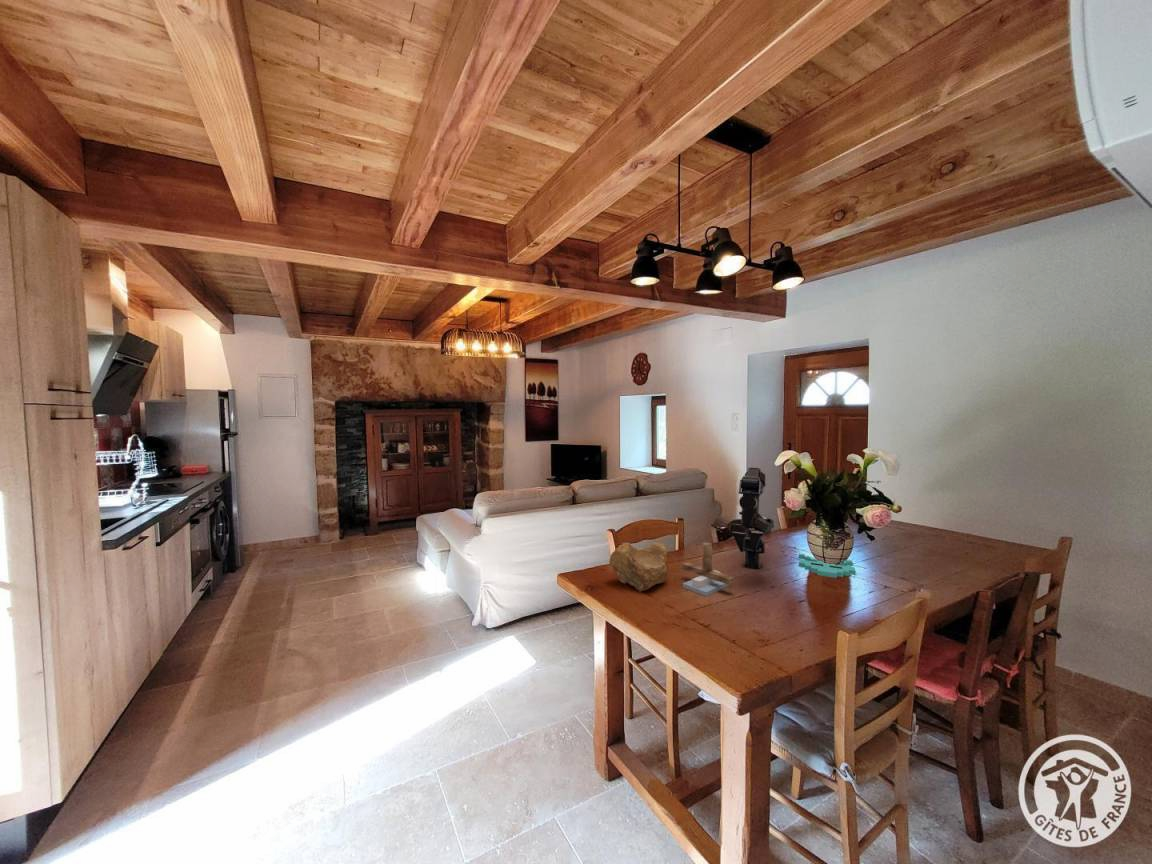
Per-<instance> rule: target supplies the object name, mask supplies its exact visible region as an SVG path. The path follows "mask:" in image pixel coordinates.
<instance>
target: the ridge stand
mask: <svg viewBox="0 0 1152 864" xmlns="http://www.w3.org/2000/svg"><path fill="white" fill-rule="evenodd" d="M712 570H713V571H716V572H719V573H722V572H721V571H718V570H716V569H712ZM731 585H732V584H730V585H728V584H725V583H722V582H719V581H716V580H713V579H710V578H708V577H705V576H702V575H699V576H697V577H695V578H692V579H690V580H688V581H685V582H683V583H682V588H683V589H685V590H688V591H690V592H694V593H696V594H699V595H702V596H703V597H709V596H711V595H712V594H715V593H716V592H718V591H720V590H723V589H724V588H727V587H729V586H731Z"/></svg>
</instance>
